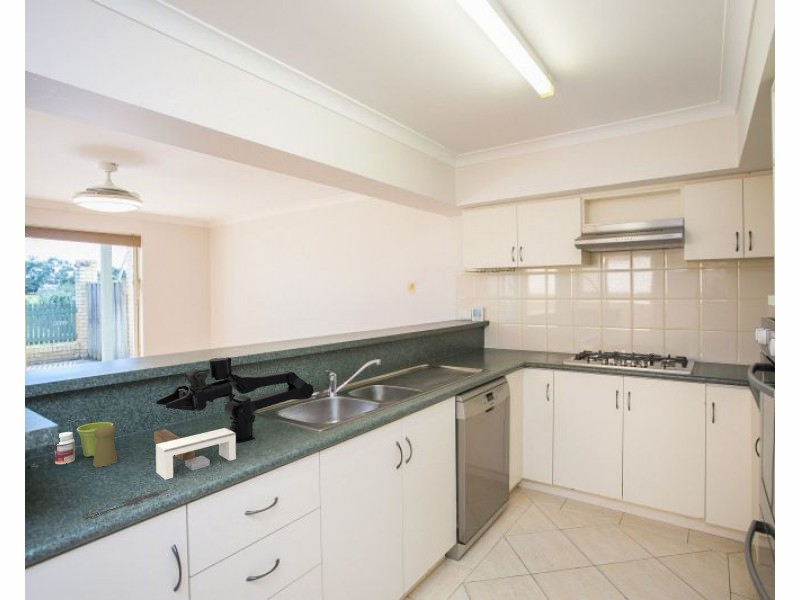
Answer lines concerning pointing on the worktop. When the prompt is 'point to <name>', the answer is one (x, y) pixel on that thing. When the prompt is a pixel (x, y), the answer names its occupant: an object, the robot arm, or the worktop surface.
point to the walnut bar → (167, 436)
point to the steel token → (197, 462)
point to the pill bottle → (65, 448)
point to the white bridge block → (194, 448)
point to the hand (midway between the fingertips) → (161, 404)
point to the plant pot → (89, 437)
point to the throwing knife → (131, 501)
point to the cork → (104, 446)
